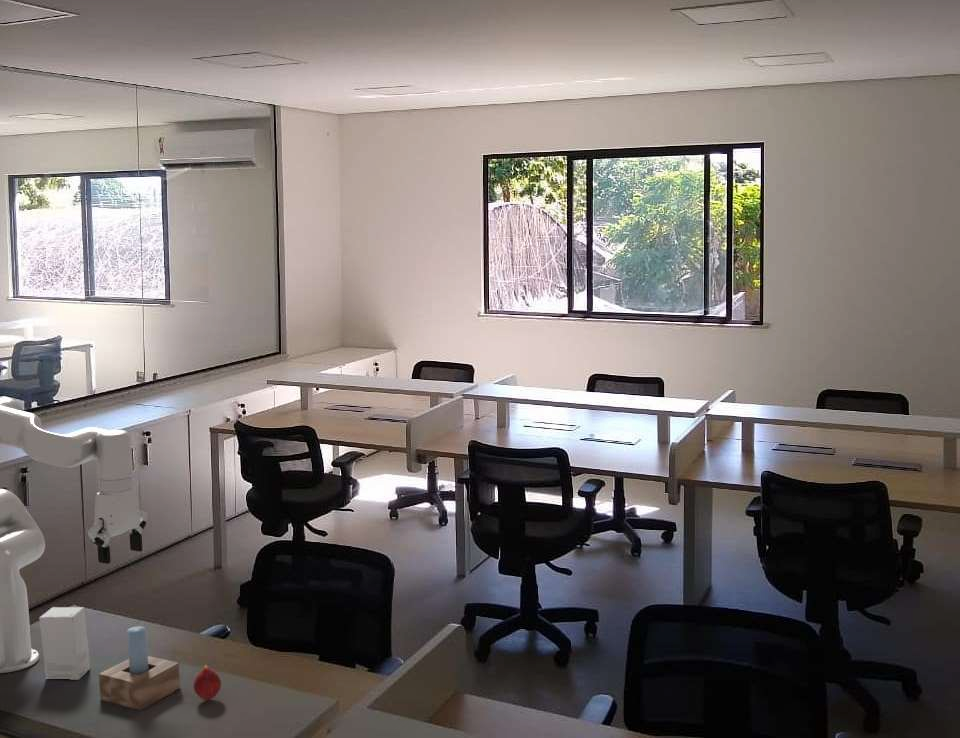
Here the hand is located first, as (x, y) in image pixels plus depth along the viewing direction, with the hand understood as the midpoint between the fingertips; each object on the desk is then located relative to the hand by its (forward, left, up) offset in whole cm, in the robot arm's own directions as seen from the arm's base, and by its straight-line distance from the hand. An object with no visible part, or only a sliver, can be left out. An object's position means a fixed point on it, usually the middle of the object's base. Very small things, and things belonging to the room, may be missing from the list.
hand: (120, 556), depth 240 cm
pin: (+11, -7, -27) cm, 30 cm away
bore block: (+11, -7, -28) cm, 31 cm away
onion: (+27, -3, -28) cm, 39 cm away
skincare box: (-12, -7, -28) cm, 32 cm away
